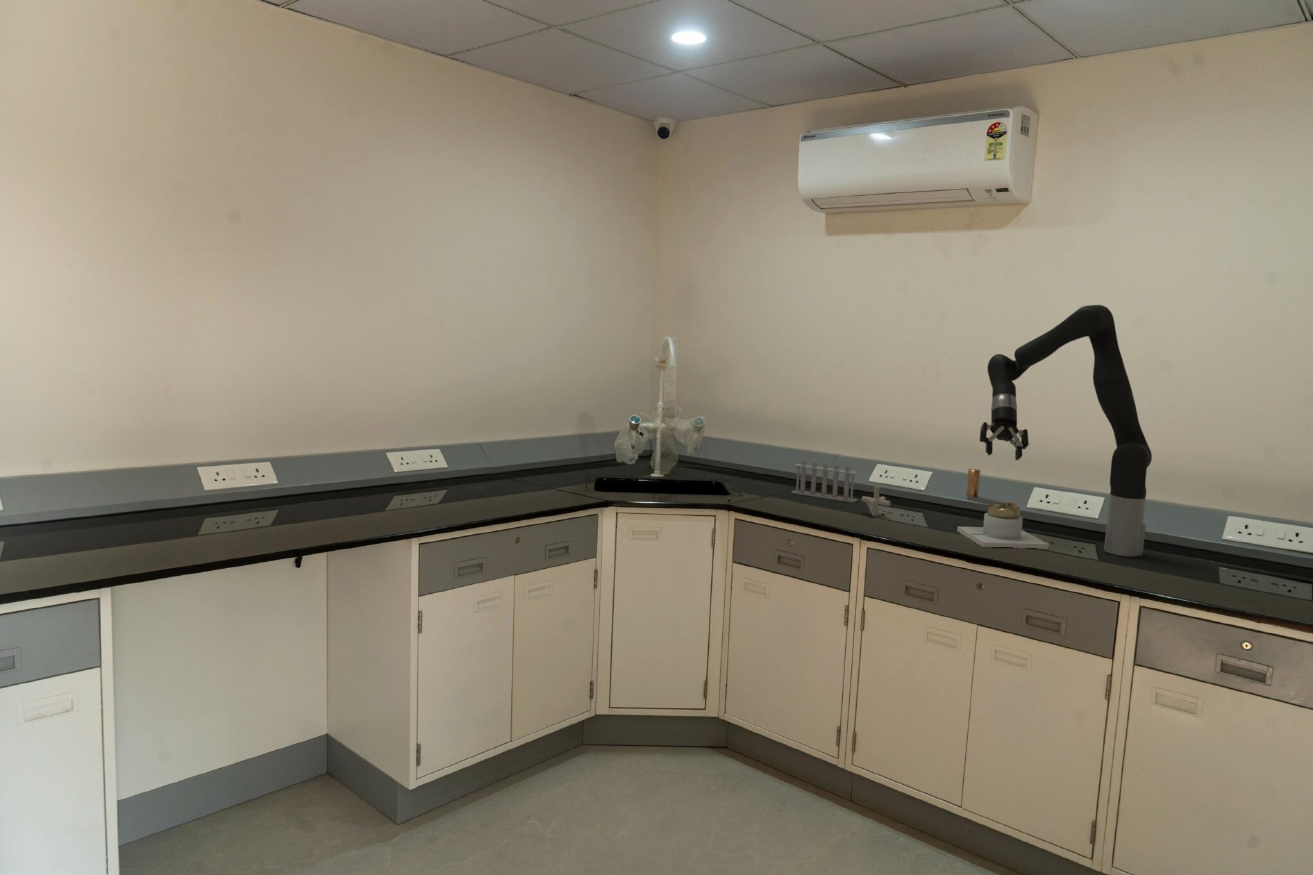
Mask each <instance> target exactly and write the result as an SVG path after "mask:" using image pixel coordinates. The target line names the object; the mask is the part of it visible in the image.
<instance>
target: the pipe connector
mask: <svg viewBox="0 0 1313 875" xmlns="http://www.w3.org/2000/svg"><path fill="white" fill-rule="evenodd" d="M880 489H881V487H880V486H876V485H874V488H873V497H870V496H861V502H863V503H866V505H867V506H872V513H871V514H872V516H873V517H878V515H879V505H881V506H887V507H890V505H891V501H890V500H886V497H885V496H880Z"/></svg>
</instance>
